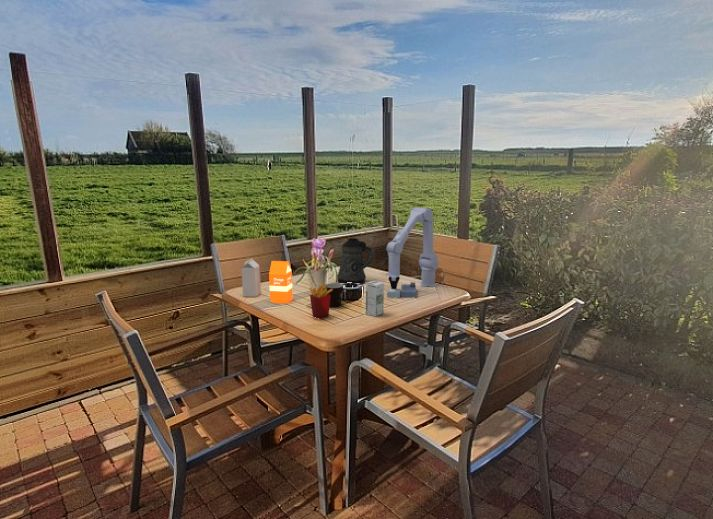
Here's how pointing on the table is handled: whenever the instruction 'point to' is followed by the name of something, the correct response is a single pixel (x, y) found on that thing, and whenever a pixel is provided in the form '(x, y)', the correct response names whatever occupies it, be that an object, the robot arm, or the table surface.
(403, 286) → the network switch box
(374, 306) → the syrup box
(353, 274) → the beer stein
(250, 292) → the milk carton
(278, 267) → the orange juice
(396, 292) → the light blue box
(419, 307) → the table surface
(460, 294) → the table surface
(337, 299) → the coffee mug
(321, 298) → the french fries
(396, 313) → the table surface
